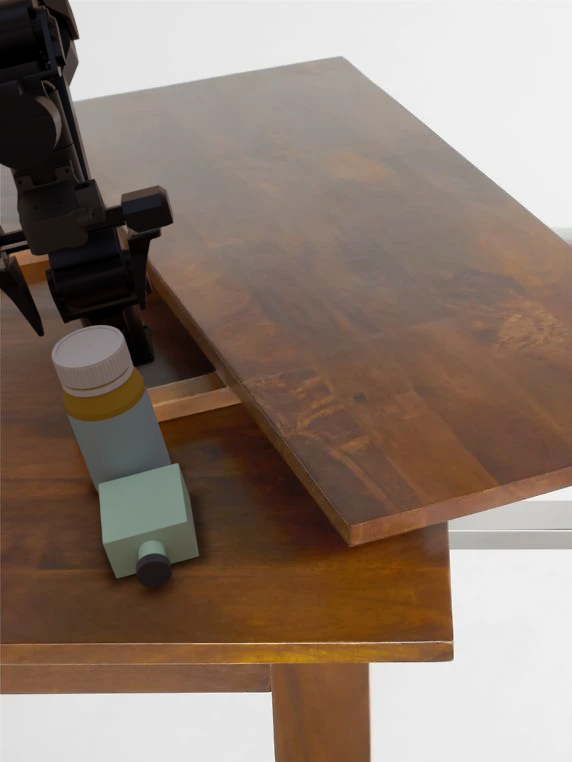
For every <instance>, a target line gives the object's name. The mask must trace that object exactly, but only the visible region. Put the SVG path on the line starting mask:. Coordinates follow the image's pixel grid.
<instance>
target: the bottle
mask: <svg viewBox="0 0 572 762" xmlns="http://www.w3.org/2000/svg"><path fill="white" fill-rule="evenodd" d="M51 360H52V361H51V362H52V363H53V367H54V369H55V371H56V375H57V376H58V379H59V381H60V384H61V387H62V389H63V391H62V403H63V406H64V410H65V412H66V415H67V418H68V420H69V423H70V426H71V428H72V431H73V434H74V436H75V439H76V441H77V444H78V446H79V450H80V452H81V454H82V458H83V461H84V463H85V465H86V468H87V471H88V473H89V476H90V479H91V481H92V483H93V486H94V488H95V490H96V493H97V494H98V495H99V486H98V485H99V484H100V483H104V482H108V481H112V480H116V479H119V478H123V477H127V476H131V475H134V474H138V473H142V472H146V471H149V470H153V469H157V468H161V467H165V466H168V465H172V462H171V457H170V454H169V451H168V448H167V446H166V443H165V440H164V436H163V433H162V430H161V428H160V425H159V421H158V418H157V415H156V411H155V409H154V406H153V402H152V400H151V398H150V394H149V391H148V388H147V385H146V382H145V379H144V377H143V375H142V374H141V372H140V371H139V370H138V369H137V368H136V366H133V364H132V360H131V357H130V353H129V350H128V347H127V344H126V341H125V338H124V336H123V334H122V333H121V331H120V330H118V329H117V328H115V327H112V326H106V325H97V326H90V327H86V328H83V327H81V328H79V329H76V330H74V331H73V332H70V333H68V334H67V335H65V336H64V337H62V338H61V339H60V340H59V341H58V342H56V344H54V346H53V349H52V351H51Z"/></svg>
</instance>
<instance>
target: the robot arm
mask: <svg viewBox="0 0 572 762" xmlns="http://www.w3.org/2000/svg"><path fill="white" fill-rule="evenodd" d="M78 40H80V33H79V30H78V25H77V22H76V18H75V15H74V12H73V9H72V6H71V4H70V2H69V0H0V165H2V166H4V167H6V168H9V170H10V174H11V177H12V179H13V183H14V186H15V189H16V192H17V193H16V197H17V199H16V210H17V213H18V222H19V225H20V228H19V229H15V230H12V231H7V232H5V231H4V228H3V227H2V225H1V224H0V290H1V291H2V292H3V293H4V294H5V295H6V296H7V297H8V298H9V299H10V300H11V301H12V303H13V304H14V305H15V307H16V308H17V309H18V310H19V312H20V313H21V314H22V316H23V317H24V318H25V320H26V321H27V322H28V324H29V325H30V326H31V328H32V329H33V331H34V332H35V333H36V334H37V336H38V337H39V338H42V337H44V336H45V328H44V325H43V322H42V318H41V315H40V312H39V310H38V307H37V305H36V303H35V300H34V298H33V296H32V293H31V290H30V288H29V285H28V283H27V281H26V278H25V276H24V273H23V271H22V268H21V265H20V263H19V261H18V259H17V256H16V255H12V254H15V253H20V252H24V251H27V250H29V251H30V253H31V255H33V256H37V257H40V256H41V257H42V256H46V255H47V258H48V263H49V267H46V268H45V271H44V272H45V278H46V282H47V286H48V290H49V293H50V295H51V298H52V301H53V303H54V304H55V307H56V309H57V312H58V314H59V315H60V318H61V320H62V322H63V323H64V325H66V324H69V323H70V322H73V321H74V322H75V321H78V320H79V321H80V323H81V328H86V327H90V326H97V325H106V326H112V327H115V328H117V329H118V330H120V331H121V333H122V334H123V336H124V338H125V341H126V344H127V347H128V350H129V353H130V357H131V360H132V364H133V366H134V367H136V366H139V365H142V364H143V365H144V364H147V363H150V362H153V361H154V360H155V352H154V351H155V350H154V343H153V337H152V330H151V327H150V325H149V324H143V323H142V320H141V316H140V313H139V310H138V307H137V305H139V308H140V311H141V312H144V311H146V307H147V306H146V305H147V304H148V300H147V297H149V295H151V294H152V293H153V287H152V284H151V281H150V277H149V275H148V272H147V266H148V265H147V264H148V258H149V251H150V246H151V242H152V240H154V239H159V238H160V237H162V228H164V227H168V226H171V225H172V224H174V212H173V208H172V205H171V200H170V197H169V194H168V190H167V189H166V188H164V187H162V186H161V185H160V184H157V185H153V186H149V187H145V188H142V189H137V190H133V191H130V192H125V193H122V194H121V195H120V196H121V197H120V204H116V205H112V206H109V207H105V203H104V199H103V196H102V194H101V189H100V188H99V185H98V183H97V180H96V179H95V178H92V175H91V169H90V166H89V163H88V158H87V153H86V150H85V145H84V142H83V137H82V133H81V130H80V126H79V125H80V124H79V122H78V118H77V117H78V116H77V114H76V113H77V112H76V109H75V105H74V101H73V97H72V93H71V89H70V86H71V83H72V81H73V78H74V76H75V75H76V71H77V69H78V66H79V65H80V64H79V63H80V61H79V57H78V56H79V55H78V52H77V47H76V44H75V41H78ZM124 226H125V227H126V230H127V238H126V239H127V240H126V241H127V246H128V247H126V246H125V242H124V240H123V238H122V236H121V234H120V232H119V231H118V229H117V228H120V227H124ZM11 255H12V256H11Z"/></svg>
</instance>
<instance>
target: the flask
mask: <svg viewBox="0 0 572 762" xmlns="http://www.w3.org/2000/svg"><path fill="white" fill-rule="evenodd" d="M171 464H172V463H171ZM98 486H99V494H98V497H99V510H100V525H101V537H102V545H103V548H104V550H105V553H106V556H107V558H108V561H109V563H110V566H111V568H112V571H113V574H114V576H115V578H116V579H120V578H121V579H122V578H125V577H129V576H131V575H135V574H136V579H137V582H138V583H140V585H142V586H144V587H146V588H159V587H162V586H164V585H166V584H167V583H168V582H169V581H170V580H171V578H172V576H173V569H172V565H173V564H176V563H179V562H184V561H187V560H192V559H195V558H198V557H200V554H199V546H198V541H197V535H196V527H195V522H194V515H193V509H192V503H191V497H190V495H189V494H190V493H189V492H188V488H187V485H186V482H185V479H184V475H183V473H182V469H181V467H180V464H179V463H178V462H177V463H173V464H172V465H168V466H165V467H161V468H157V469H153V470H149V471H146V472H142V473H138V474H134V475H131V476H127V477H123V478H119V479H116V480H112V481H108V482H104V483H100V484H99V485H98Z"/></svg>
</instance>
